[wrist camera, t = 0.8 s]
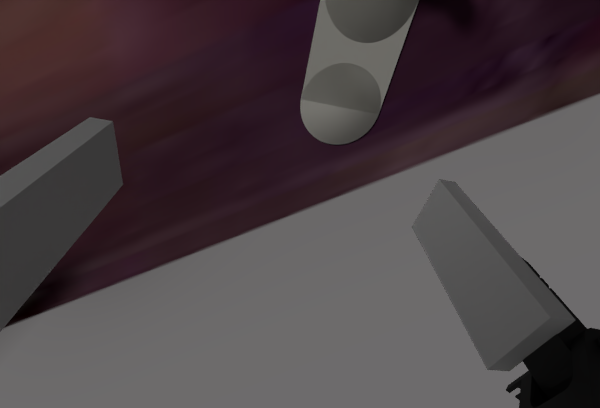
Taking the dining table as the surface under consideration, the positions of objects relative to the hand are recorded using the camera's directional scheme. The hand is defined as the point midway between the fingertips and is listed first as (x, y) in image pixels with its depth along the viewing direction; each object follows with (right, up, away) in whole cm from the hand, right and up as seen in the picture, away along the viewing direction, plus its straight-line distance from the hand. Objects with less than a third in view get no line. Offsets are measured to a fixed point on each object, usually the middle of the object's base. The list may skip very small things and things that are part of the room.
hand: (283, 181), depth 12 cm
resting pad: (+6, +14, +18) cm, 24 cm away
